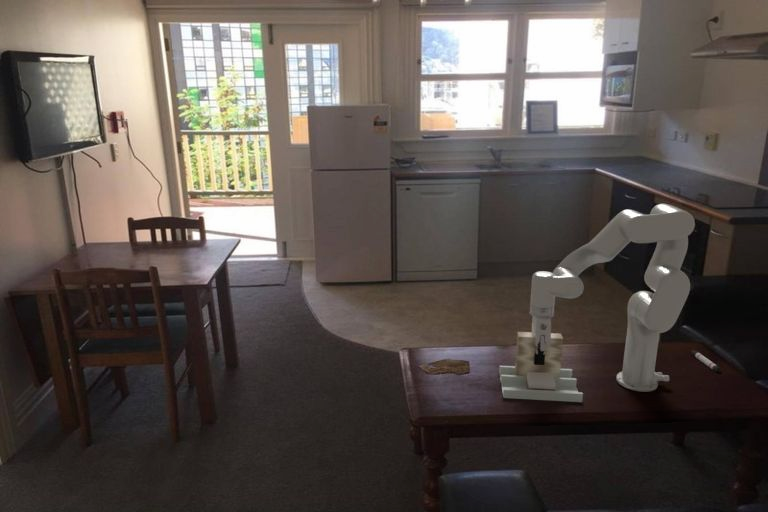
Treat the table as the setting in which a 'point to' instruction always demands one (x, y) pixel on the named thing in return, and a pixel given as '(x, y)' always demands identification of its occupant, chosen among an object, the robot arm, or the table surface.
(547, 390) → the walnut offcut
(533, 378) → the grey offcut
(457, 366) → the brown ridged slab
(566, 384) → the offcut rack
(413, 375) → the table surface
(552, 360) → the birch sheet
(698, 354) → the marker
